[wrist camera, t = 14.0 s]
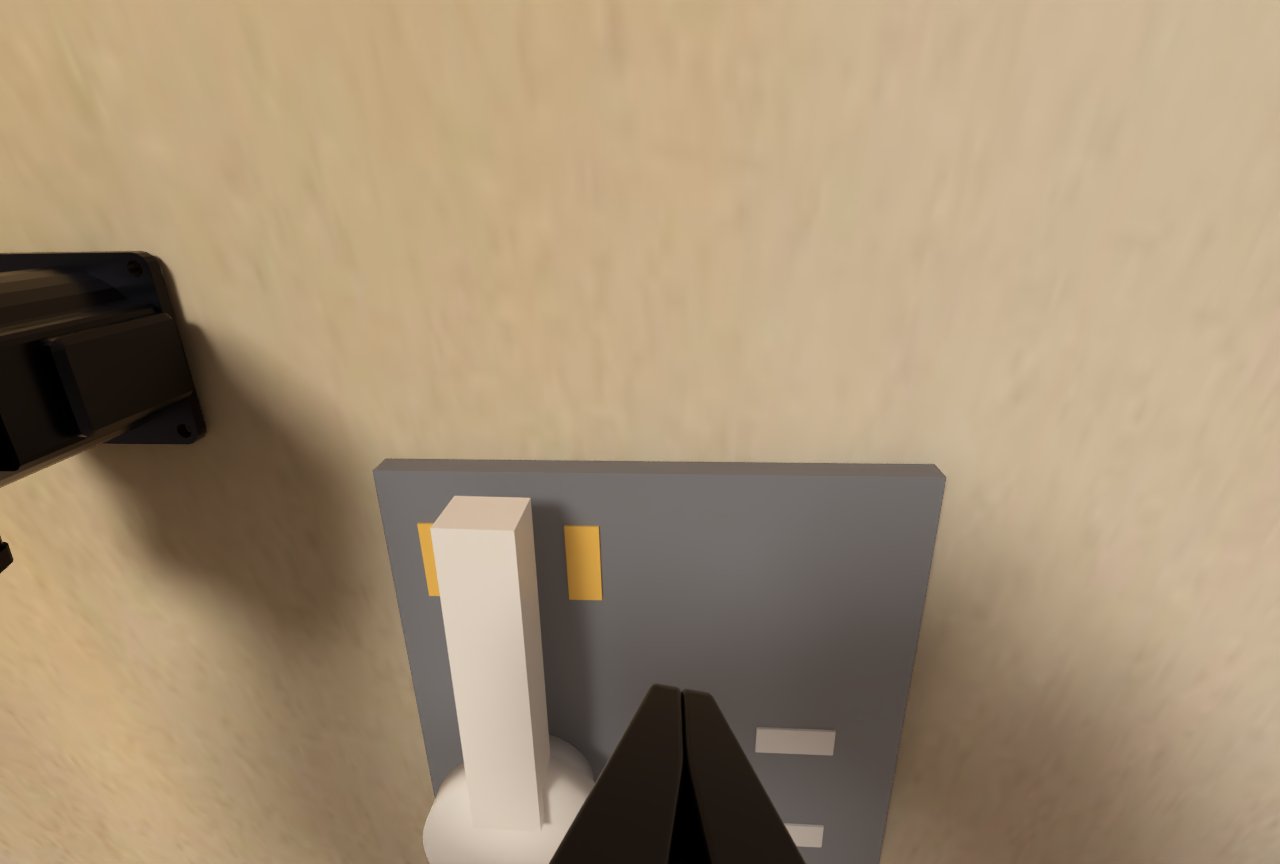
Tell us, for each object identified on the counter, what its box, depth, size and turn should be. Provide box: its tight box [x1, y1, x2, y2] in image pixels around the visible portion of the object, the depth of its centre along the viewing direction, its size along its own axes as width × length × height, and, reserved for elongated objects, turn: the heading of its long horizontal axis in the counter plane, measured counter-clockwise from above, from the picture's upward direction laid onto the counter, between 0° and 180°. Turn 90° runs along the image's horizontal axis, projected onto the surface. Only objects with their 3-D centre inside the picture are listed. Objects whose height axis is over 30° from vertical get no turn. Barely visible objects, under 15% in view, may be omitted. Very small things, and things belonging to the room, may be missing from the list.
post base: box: [373, 459, 946, 864], centre depth 24 cm, size 19×19×2 cm
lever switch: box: [423, 496, 595, 864], centre depth 22 cm, size 18×7×2 cm, turn 0°
